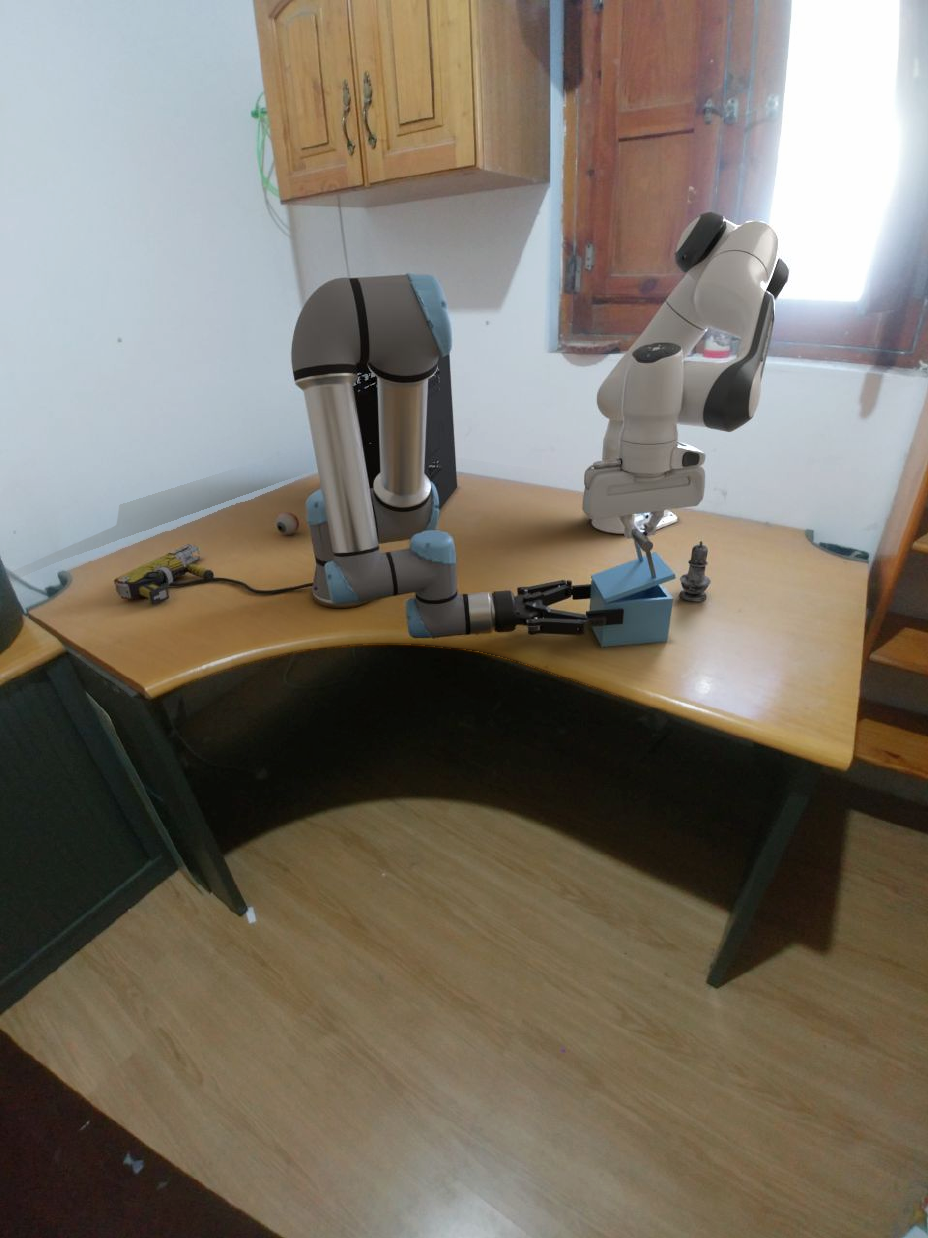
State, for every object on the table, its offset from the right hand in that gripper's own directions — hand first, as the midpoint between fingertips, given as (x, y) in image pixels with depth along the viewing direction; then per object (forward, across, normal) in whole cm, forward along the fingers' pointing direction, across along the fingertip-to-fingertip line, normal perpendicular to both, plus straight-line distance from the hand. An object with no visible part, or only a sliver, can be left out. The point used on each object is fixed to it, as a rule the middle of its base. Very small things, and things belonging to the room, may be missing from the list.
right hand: (639, 535), depth 104 cm
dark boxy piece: (+19, -33, +83) cm, 91 cm away
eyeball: (+19, -67, +72) cm, 100 cm away
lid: (+8, -1, 0) cm, 8 cm away
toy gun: (+18, -91, +48) cm, 105 cm away
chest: (+19, -1, 0) cm, 19 cm away
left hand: (+13, -4, 0) cm, 13 cm away
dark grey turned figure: (+20, +18, +9) cm, 28 cm away
